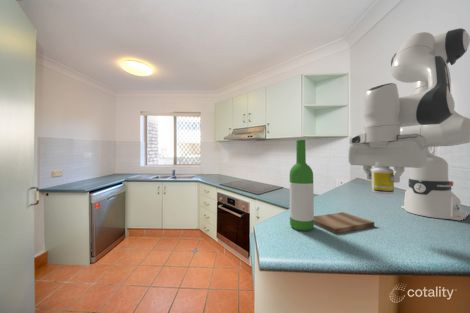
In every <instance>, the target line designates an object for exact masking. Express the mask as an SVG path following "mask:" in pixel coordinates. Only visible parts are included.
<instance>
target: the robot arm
mask: <svg viewBox="0 0 470 313" xmlns="http://www.w3.org/2000/svg"><path fill="white" fill-rule="evenodd" d="M469 46H470V35H469V33H468V32H467V30H466V29H464V28H462V27H461V28H455V29H450V30H447V32H443V33H441V34H438V35H433V34H432V33H431V32H425V31H424V32H423V31H422V32H417V33H414V34H413V35H410V36H409V37H407V38H406V39H405V40H404V41H403V43H402V44H401V46H400V47H399V48H398V50H397V52H395V53H394V54H393V56H392V58H391V61H390V71H391V75H392V77H393V79H395V80H396V81H399V82H401V83H407V84H408V83H410V84H411V83H413V85H412V94H409V95H405V96H401V97H400V95H399V89H398V86H397V83H395V82H394V83H392V82H389V83H384V84H381V85H378V86H374V87H370V88H369V89H368V90H367V91H366V92H365V95H364V98H363V99H364V100H363V117H364V121H365V123H364V127H363V132H361V133H360V134H357V135H355V136H353V137H350V138H349V145H350V146H349V149H348V155H347V156H348V157H347V158H348V163H349V164H350V165H351V166H362V168H363V171H364V173H365V174H366V179H367V180H369V181H370V180H371V181H372V174H371V171H372V169H373V168H372V167H375V164H376V162H381V165H382V166H386V167H389V168H392V167H393V172H394V171H395V173H394V176H390V179H391V180H390V181H391V182H394V184H395V183H396V184H398V183H400V181H401V179H400V178H401V176H402V175H403V173H404V172H405V168H409V179H408V181H407V182H408V183H407V184H408V189H407V190H405V194H404V203H403V205H401V206H400V208H401V209H403V210H404V211H406V212H408V213H410V214H414V215H418V216H422V217H428V218H435V219H442V220H443V219H445V220H454V221H461V220H462V221H464V220H465V219H467V218H468V217H469V216H470V215H469V214H470V211H467V210H462V204H461V203H462V202H461V199H460V198H459V197H457V195H456V194H454V192H453V191H452V187H453V186H454V181H451V180H450V181H449V164H448V162H447V160H446V159H444V158H442V157H440V156H437V155H434V154H432V153H431V152H430V149H429V148H432V147H433V148H436V147H437V148H438V147H452V146H453V147H454V146H458V145H459V146H460V145H464V144H470V118H469V117H466V116H463V115H461V114H460V113H458V112H457V111H456V110H455V100H454V97H453V95H452V93H451V88H452V87H451V85H452V83H451V82H452V81H451V73H450V69H449V65H448V64H450V65H451V66H453V65H455V63H456V62H457V60H459V59H460V58H462V57H463V56H464V55H465V54H466V53H467V50H468V48H469ZM468 215H469V216H468ZM467 216H468V217H467ZM466 217H467V218H466ZM463 219H464V220H463Z"/></svg>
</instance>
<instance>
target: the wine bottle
mask: <svg viewBox="0 0 470 313" xmlns="http://www.w3.org/2000/svg"><path fill="white" fill-rule="evenodd" d="M295 143H296V148H295V149H296V151H295V152H296V157H295V158H296V163H295V164H294V165H292V167H291V168H290V170H289V225H290V227H291V228H293V229H295V230H298V231H303V232H304V231H306V232H308V231H311V230H313V228H314V226H315V224H314V216H315V215H314V214H315V212H314V211H315V210H314V207H315V206H314V205H315V204H314V203H315V202H314V199H315V198H314V195H315V194H314V172H313V169H312V168H311V166H310V165H309V164H308V163H307V162H306V161H307V159H306V158H307V157H306V140H305V139H296V142H295Z"/></svg>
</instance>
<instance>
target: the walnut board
mask: <svg viewBox="0 0 470 313" xmlns="http://www.w3.org/2000/svg"><path fill="white" fill-rule="evenodd" d="M314 226H317V227H318V228H322V229H324V230H326V231H327V232H329V233H332V234H334V235H335V234H336V235H337V234H343V233H347V232H352V231H357V230H363V229H369V228H372V227H373V228H374V227H375V221H373V220H369V219H366V218H362V217H359V216H356V215H353V214H350V213H348V212H345V211H343V212H342V211H340V212H334V213H328V214H322V215H320V214H319V215H314Z"/></svg>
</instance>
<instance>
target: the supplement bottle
mask: <svg viewBox="0 0 470 313" xmlns="http://www.w3.org/2000/svg"><path fill="white" fill-rule="evenodd" d="M371 174H372V180H371V192H372V193H374V194H380V195H393V194H395V182H391V181H390V180H391V179H390V176H394V174H395V173H394V169H392V168H391V167H386V166H382V165H381V162H376V164H375V166H374V168H372V169H371Z"/></svg>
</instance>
